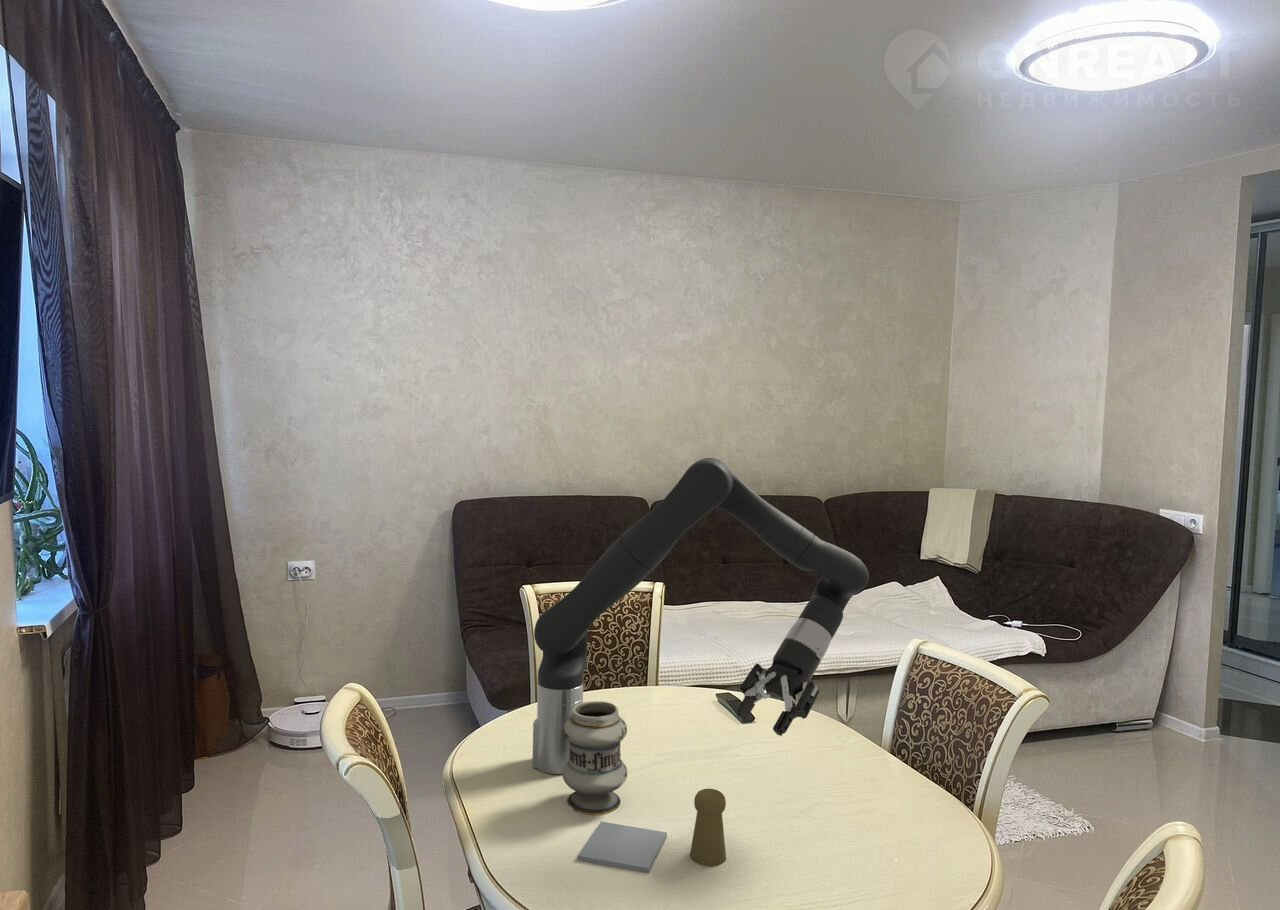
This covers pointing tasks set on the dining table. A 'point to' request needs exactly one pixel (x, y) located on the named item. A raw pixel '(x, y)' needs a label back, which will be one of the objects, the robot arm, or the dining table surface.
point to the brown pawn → (709, 829)
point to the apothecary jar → (594, 757)
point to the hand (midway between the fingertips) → (758, 725)
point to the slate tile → (623, 847)
